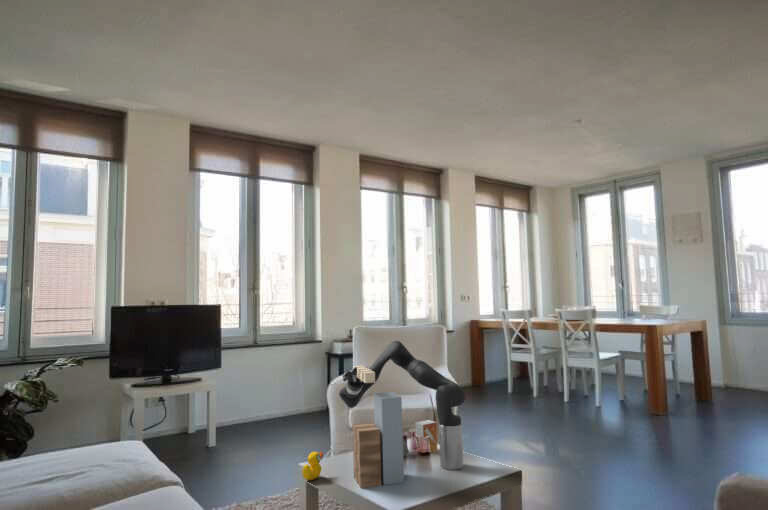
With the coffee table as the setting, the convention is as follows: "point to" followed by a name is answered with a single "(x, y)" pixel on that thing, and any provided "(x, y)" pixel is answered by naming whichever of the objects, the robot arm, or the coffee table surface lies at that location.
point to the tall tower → (390, 436)
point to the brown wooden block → (366, 455)
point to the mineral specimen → (405, 448)
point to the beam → (365, 374)
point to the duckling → (312, 466)
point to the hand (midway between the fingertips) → (361, 369)
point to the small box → (427, 432)
